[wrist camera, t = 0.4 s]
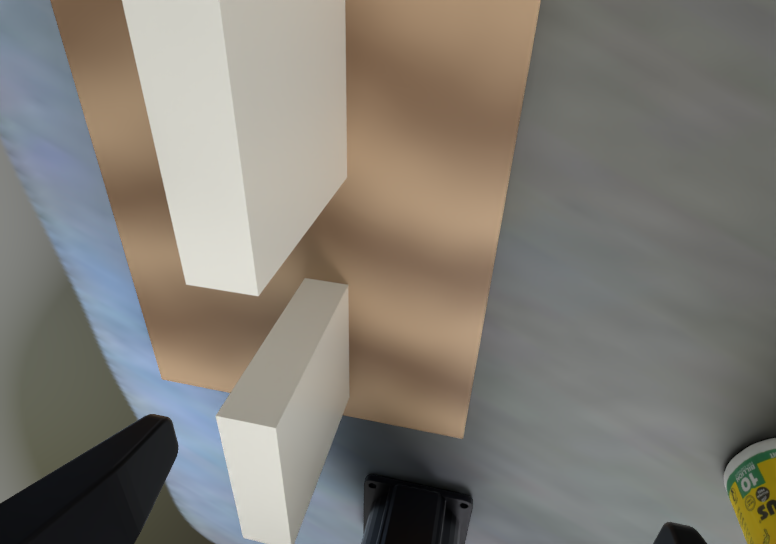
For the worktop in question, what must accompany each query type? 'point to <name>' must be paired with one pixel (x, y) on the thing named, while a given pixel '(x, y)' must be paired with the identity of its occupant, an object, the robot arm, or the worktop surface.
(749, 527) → the supplement bottle
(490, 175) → the board
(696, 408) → the worktop surface
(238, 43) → the tile
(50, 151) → the worktop surface
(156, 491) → the robot arm
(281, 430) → the tile
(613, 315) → the worktop surface
